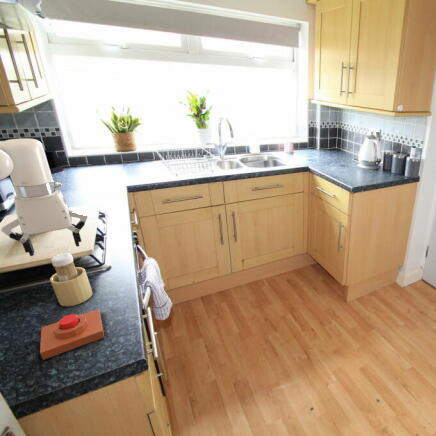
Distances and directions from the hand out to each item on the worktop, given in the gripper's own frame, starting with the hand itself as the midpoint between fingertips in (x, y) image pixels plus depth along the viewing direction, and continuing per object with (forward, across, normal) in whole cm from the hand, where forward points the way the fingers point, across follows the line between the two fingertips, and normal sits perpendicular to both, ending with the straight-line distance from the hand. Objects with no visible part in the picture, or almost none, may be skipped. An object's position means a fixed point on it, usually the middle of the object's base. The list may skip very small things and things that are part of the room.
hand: (55, 249), depth 87 cm
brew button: (+13, 0, +18) cm, 22 cm away
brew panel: (+17, 0, +18) cm, 24 cm away
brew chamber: (+17, -1, 0) cm, 17 cm away
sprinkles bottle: (+16, -1, 0) cm, 16 cm away
